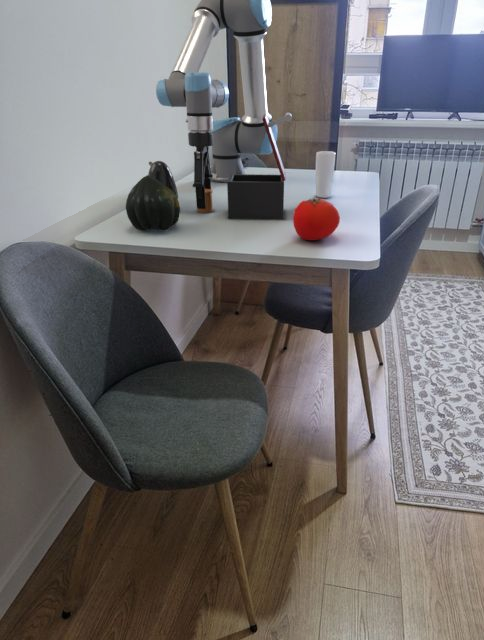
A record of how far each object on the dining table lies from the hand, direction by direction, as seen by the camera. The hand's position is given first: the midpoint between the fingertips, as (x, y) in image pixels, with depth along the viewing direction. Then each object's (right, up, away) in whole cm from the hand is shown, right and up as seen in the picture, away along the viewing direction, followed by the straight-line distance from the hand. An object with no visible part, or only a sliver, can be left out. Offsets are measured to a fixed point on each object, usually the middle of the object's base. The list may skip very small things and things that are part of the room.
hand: (204, 203), depth 154 cm
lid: (+22, +13, -12) cm, 28 cm away
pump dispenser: (-14, -1, +3) cm, 14 cm away
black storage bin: (+17, -4, -2) cm, 17 cm away
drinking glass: (+41, +8, +19) cm, 46 cm away
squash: (-13, -12, -15) cm, 23 cm away
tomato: (+33, -17, -24) cm, 44 cm away
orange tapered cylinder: (0, -2, +1) cm, 3 cm away
